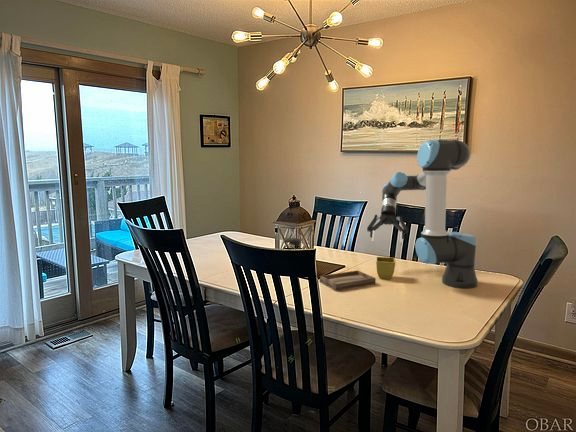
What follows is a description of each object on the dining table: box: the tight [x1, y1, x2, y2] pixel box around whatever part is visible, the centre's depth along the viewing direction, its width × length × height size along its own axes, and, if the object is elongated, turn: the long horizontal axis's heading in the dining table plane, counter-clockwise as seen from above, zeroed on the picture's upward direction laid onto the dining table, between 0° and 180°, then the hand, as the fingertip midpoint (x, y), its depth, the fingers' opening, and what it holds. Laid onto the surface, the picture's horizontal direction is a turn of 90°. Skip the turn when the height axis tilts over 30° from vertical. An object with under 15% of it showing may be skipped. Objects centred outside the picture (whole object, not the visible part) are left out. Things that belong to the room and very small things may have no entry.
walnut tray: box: [319, 269, 376, 292], centre depth 202 cm, size 14×21×3 cm, turn 116°
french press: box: [283, 228, 303, 250], centre depth 219 cm, size 12×9×23 cm
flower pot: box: [375, 256, 396, 280], centre depth 210 cm, size 9×9×9 cm
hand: (386, 243), depth 218 cm, fingers open, 13 cm apart
